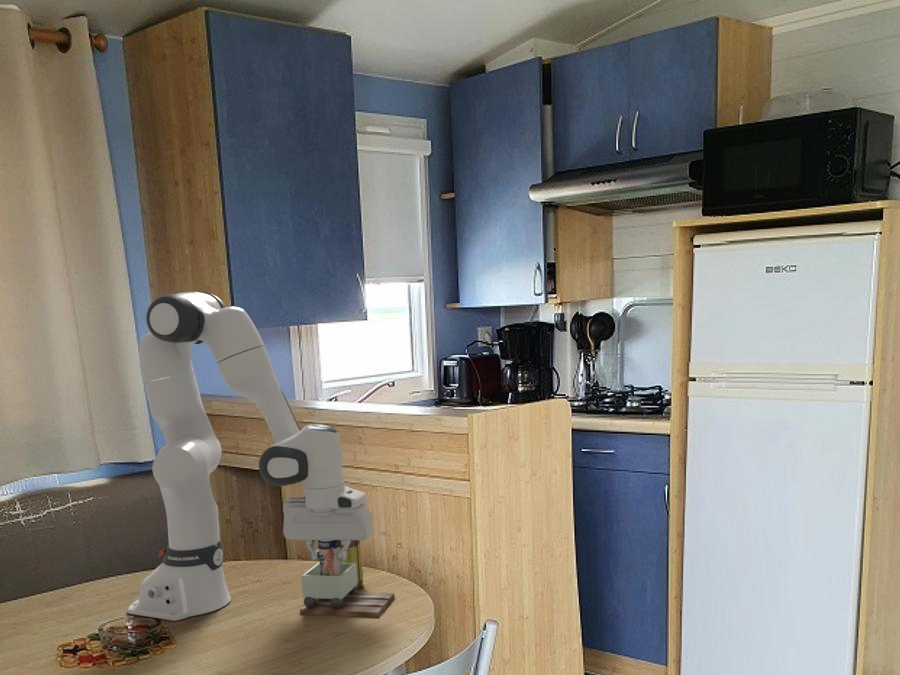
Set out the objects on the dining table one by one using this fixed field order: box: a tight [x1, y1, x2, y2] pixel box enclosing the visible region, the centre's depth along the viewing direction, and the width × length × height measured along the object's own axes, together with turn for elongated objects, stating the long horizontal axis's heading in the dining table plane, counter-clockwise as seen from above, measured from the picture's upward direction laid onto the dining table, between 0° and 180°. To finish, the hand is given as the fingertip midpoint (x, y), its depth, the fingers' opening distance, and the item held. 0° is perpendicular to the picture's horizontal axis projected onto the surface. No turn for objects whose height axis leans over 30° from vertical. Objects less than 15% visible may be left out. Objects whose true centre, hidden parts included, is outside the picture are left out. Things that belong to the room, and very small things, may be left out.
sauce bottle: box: [339, 540, 364, 589], centre depth 175 cm, size 7×6×20 cm
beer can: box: [317, 537, 341, 576], centre depth 165 cm, size 5×5×12 cm
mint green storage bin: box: [301, 561, 358, 609], centre depth 165 cm, size 9×9×7 cm
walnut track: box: [299, 591, 395, 618], centre depth 164 cm, size 18×11×1 cm, turn 76°
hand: (329, 558), depth 165 cm, fingers closed on beer can, 5 cm apart
